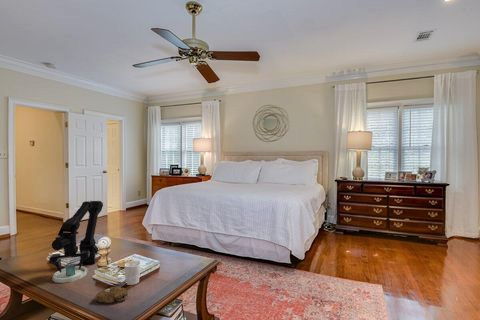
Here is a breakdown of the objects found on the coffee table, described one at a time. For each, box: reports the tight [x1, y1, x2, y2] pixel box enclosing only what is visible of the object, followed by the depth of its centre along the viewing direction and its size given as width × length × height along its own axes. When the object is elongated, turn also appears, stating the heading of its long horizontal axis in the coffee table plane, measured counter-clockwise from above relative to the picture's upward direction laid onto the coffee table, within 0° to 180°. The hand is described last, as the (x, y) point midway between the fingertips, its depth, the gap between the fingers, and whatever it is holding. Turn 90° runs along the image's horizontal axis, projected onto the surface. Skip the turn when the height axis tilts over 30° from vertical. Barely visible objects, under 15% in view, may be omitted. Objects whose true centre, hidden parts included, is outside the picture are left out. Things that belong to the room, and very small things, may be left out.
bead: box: [65, 263, 76, 277], centre depth 148 cm, size 4×4×5 cm
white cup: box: [124, 260, 141, 286], centre depth 141 cm, size 8×8×10 cm
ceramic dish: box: [52, 265, 88, 284], centre depth 148 cm, size 16×16×2 cm
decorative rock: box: [94, 286, 129, 304], centre depth 126 cm, size 11×4×15 cm
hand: (70, 271), depth 148 cm, fingers open, 9 cm apart
